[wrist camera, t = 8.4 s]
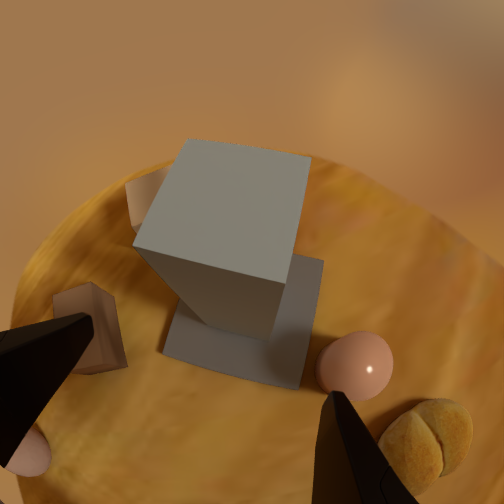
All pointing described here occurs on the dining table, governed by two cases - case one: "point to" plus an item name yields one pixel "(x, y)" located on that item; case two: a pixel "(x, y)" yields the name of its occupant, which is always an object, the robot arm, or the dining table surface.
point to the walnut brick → (105, 327)
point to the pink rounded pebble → (355, 365)
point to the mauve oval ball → (31, 455)
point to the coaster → (251, 349)
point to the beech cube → (143, 195)
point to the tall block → (227, 231)
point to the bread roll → (427, 442)
